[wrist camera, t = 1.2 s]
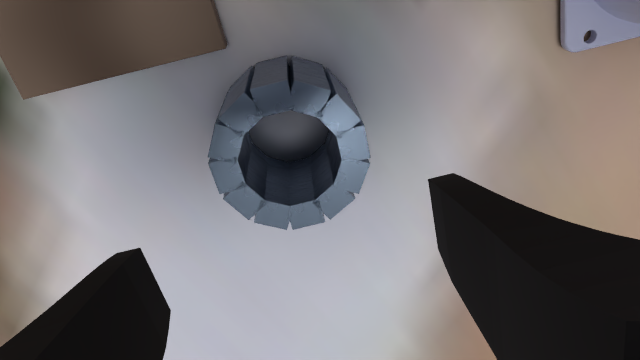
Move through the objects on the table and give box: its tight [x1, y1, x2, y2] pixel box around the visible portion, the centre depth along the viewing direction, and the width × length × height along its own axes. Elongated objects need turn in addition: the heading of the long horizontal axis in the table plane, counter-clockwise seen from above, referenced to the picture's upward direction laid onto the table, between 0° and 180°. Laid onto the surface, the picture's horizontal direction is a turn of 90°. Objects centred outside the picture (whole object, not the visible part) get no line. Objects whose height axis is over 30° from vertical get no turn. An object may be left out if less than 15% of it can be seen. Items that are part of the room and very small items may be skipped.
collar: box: [208, 56, 370, 230], centre depth 18 cm, size 6×6×4 cm
